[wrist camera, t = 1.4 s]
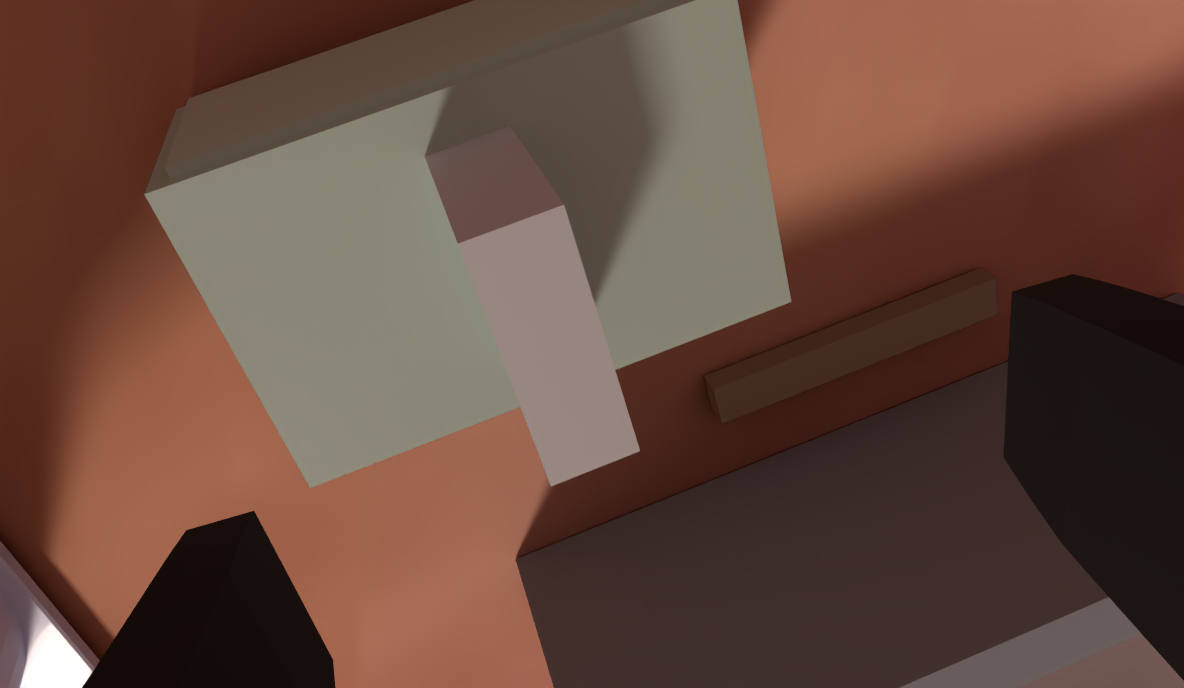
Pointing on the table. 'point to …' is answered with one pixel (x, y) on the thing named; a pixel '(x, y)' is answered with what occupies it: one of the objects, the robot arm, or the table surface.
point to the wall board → (834, 544)
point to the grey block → (477, 222)
